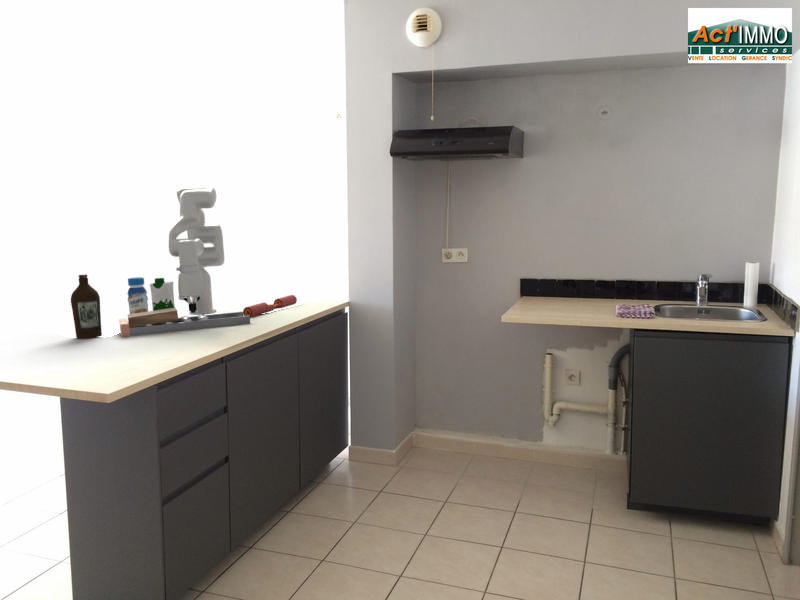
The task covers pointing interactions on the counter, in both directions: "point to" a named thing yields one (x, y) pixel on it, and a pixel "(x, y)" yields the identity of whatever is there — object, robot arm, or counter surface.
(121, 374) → the counter surface
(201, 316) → the roller
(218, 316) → the track
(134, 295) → the beverage bottle
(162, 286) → the milk carton
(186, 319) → the roller
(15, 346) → the counter surface
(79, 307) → the olive oil
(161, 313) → the slab
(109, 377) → the counter surface
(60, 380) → the counter surface
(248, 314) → the artery
